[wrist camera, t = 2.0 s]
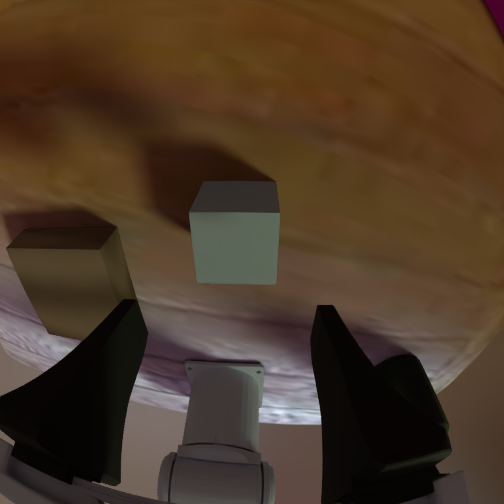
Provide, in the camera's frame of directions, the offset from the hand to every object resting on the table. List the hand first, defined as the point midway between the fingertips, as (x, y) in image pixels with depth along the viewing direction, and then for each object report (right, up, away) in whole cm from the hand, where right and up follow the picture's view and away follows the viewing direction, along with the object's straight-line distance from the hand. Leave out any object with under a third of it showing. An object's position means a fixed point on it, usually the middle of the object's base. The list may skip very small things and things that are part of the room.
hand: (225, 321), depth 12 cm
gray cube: (0, +5, +8) cm, 10 cm away
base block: (-14, +1, +11) cm, 18 cm away
